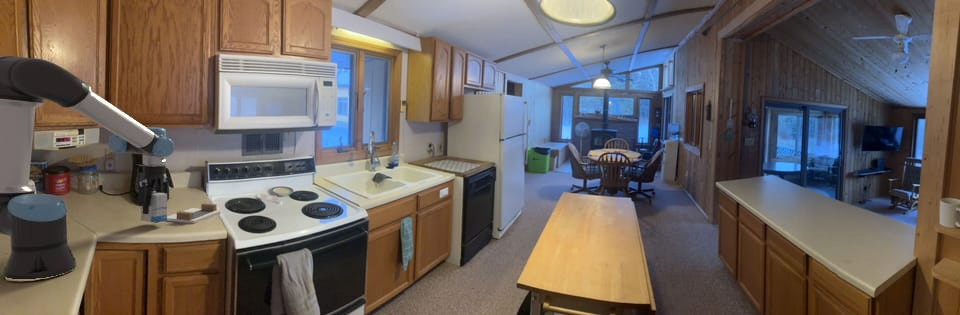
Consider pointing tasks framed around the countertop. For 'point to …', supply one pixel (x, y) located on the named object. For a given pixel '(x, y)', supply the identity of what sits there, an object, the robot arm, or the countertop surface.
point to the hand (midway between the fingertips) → (154, 219)
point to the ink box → (157, 207)
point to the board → (194, 214)
